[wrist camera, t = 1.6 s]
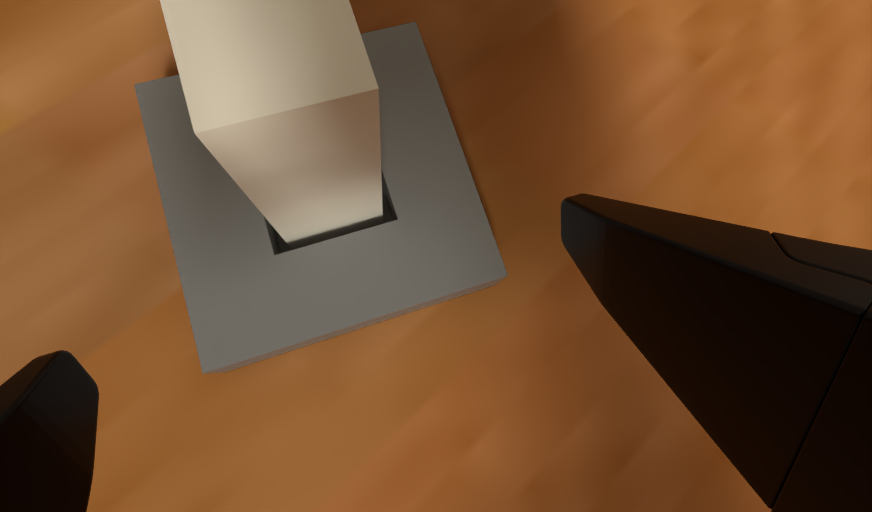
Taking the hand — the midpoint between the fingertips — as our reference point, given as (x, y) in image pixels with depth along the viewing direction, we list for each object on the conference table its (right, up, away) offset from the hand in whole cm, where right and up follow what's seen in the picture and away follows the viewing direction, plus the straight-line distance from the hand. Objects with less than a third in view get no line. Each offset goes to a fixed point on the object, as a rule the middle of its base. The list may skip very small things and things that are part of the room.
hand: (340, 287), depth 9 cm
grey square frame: (-3, +3, +13) cm, 14 cm away
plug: (-3, +3, +13) cm, 13 cm away
